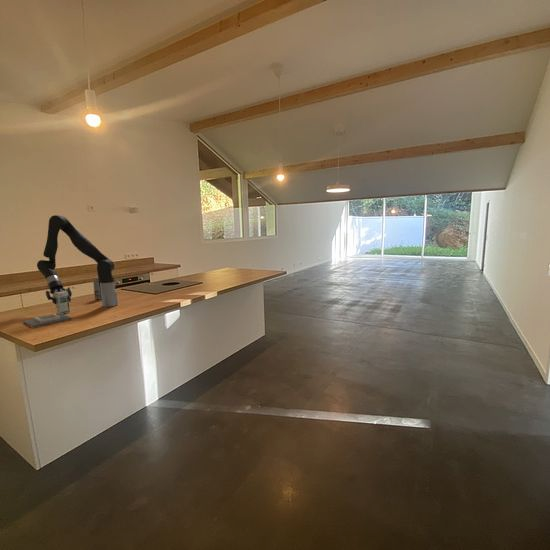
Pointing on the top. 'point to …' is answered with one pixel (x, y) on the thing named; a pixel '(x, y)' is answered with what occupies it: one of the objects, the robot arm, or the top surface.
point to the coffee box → (97, 289)
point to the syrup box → (62, 302)
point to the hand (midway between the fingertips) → (62, 302)
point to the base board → (46, 319)
